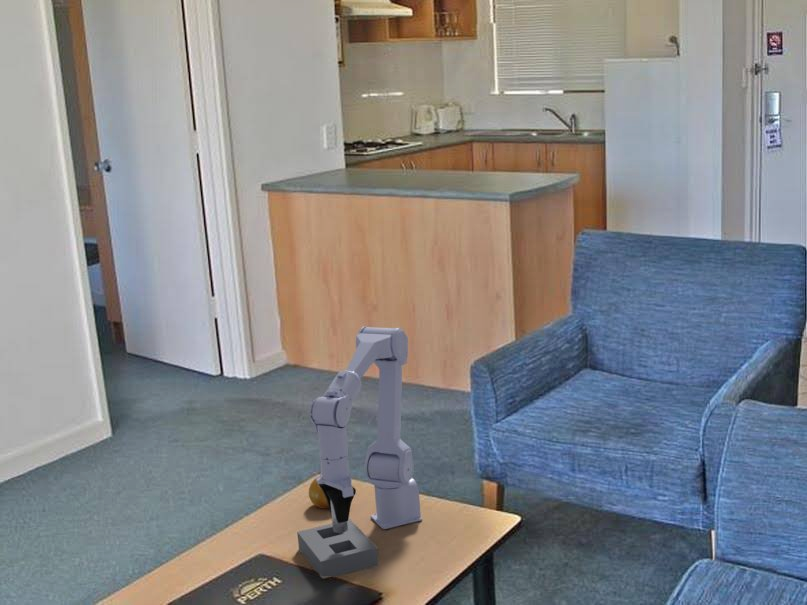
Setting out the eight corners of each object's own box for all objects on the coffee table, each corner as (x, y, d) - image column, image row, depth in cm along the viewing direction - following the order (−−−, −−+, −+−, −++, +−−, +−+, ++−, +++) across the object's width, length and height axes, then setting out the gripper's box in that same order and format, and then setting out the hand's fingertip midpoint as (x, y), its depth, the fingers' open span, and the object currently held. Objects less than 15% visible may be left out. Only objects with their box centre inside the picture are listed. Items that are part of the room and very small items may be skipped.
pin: (345, 525, 215) (342, 493, 213) (350, 530, 212) (347, 498, 210) (331, 528, 213) (328, 496, 212) (336, 534, 211) (333, 501, 209)
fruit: (336, 484, 251) (320, 462, 247) (356, 495, 245) (341, 474, 241) (312, 509, 248) (297, 488, 244) (333, 521, 242) (317, 500, 238)
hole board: (351, 536, 227) (350, 519, 227) (378, 565, 213) (376, 547, 212) (298, 549, 223) (297, 531, 222) (322, 580, 209) (320, 561, 208)
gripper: (304, 448, 214) (310, 510, 217) (326, 470, 201) (332, 536, 204) (336, 441, 217) (342, 502, 220) (361, 463, 204) (366, 527, 207)
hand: (339, 518), depth 212 cm, fingers closed on pin, 3 cm apart
